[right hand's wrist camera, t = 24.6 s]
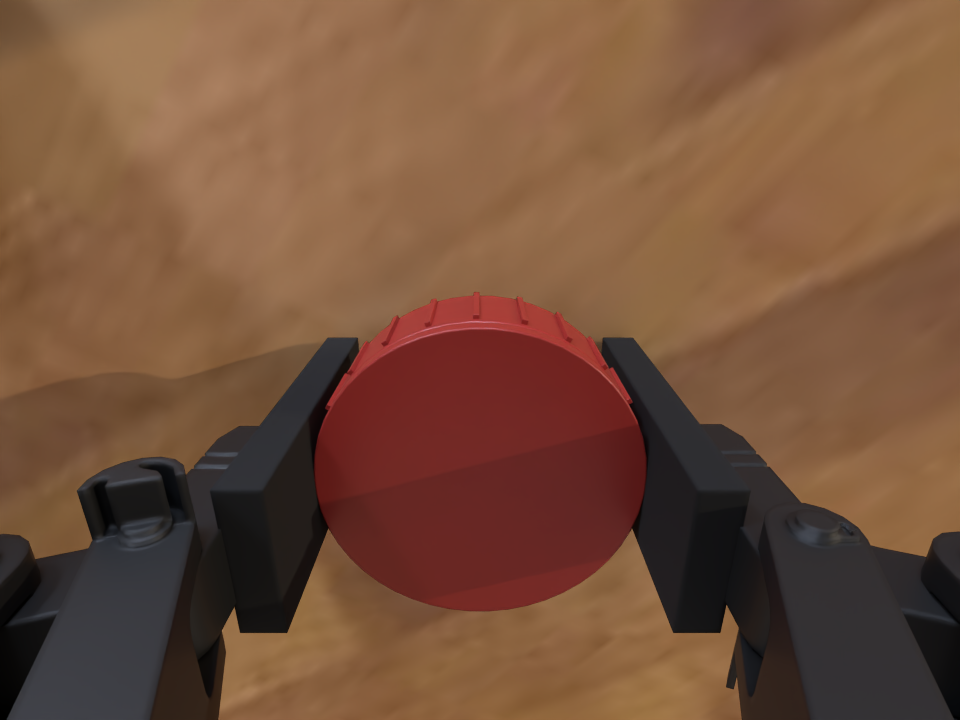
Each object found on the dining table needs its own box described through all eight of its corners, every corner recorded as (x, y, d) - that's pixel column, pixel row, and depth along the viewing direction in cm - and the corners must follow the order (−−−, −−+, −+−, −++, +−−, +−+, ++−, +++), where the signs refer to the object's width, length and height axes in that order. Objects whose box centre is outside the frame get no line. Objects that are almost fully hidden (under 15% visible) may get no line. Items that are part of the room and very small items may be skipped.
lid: (279, 440, 12) (241, 497, 10) (466, 224, 11) (463, 243, 9) (489, 587, 14) (491, 661, 12) (683, 419, 12) (722, 473, 10)
